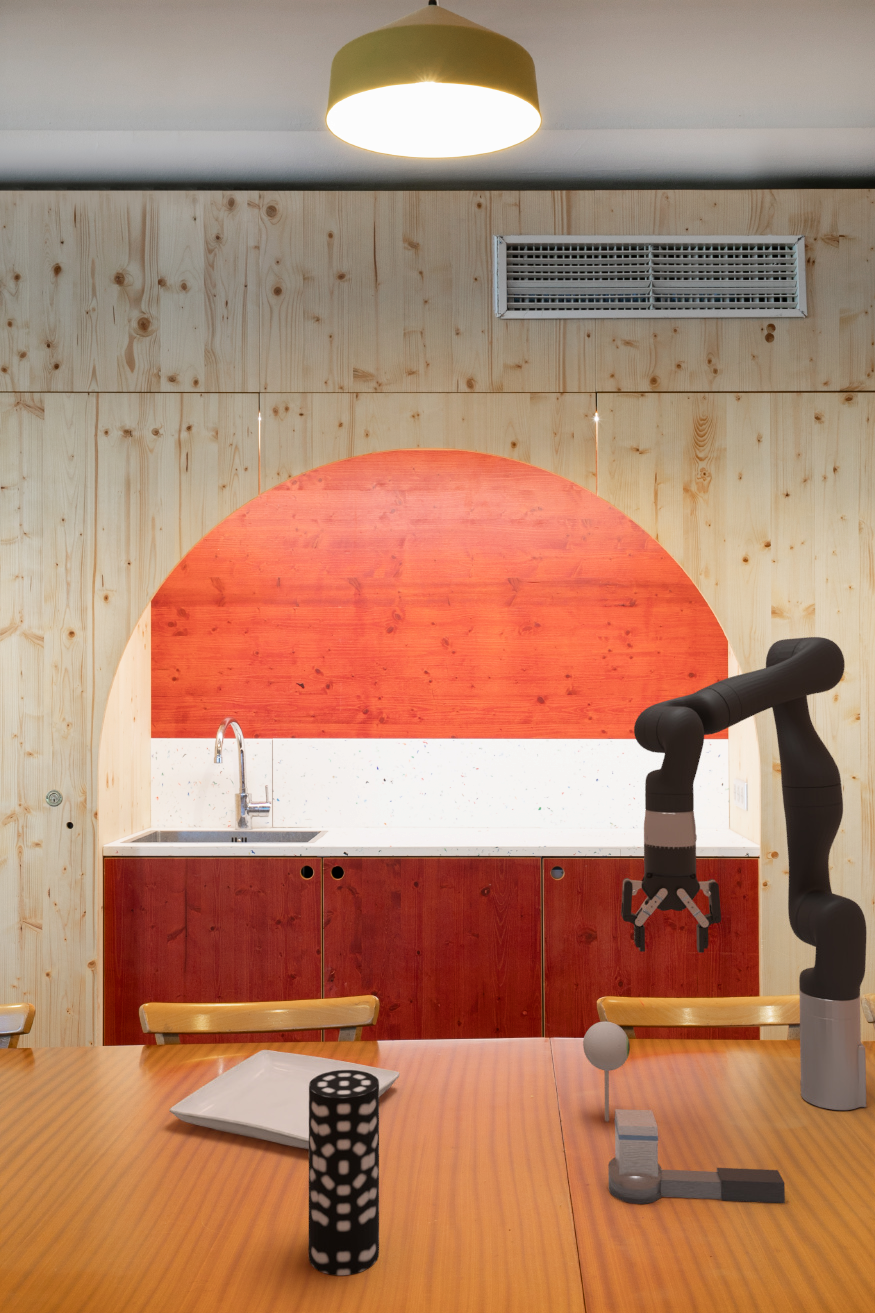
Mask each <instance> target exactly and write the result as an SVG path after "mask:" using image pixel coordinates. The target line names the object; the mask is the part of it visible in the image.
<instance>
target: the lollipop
mask: <svg viewBox="0 0 875 1313" xmlns="http://www.w3.org/2000/svg"><path fill="white" fill-rule="evenodd" d="M582 1047H583V1052H584V1055H585V1058H586V1059H587V1060H588V1062H589V1063H590V1064H591V1065H592V1066H593V1067H595V1068H596V1069H598V1070H600V1071H604V1121H605V1122H610V1099H609V1098H610V1089H609V1087H610V1083H609V1082H610V1080H609V1078H610V1077H609V1075H610V1074H609V1073H610V1072H611V1071H615V1070H617V1069H619V1068H621V1067H622V1066H623V1065H624V1064H625V1063H626V1062H627V1060H628V1058H629V1055H630V1048H631V1046H630V1040H629V1037H628V1035H627V1034H626V1032H625V1031H624V1030H623V1028H622V1027H621V1026H620V1025H618V1024H616V1023H613V1022H610V1021H599V1022H596V1023H594V1024H593V1025H591V1026H590V1027H589V1028H588V1030H587V1031H586V1033H585V1034H584V1037H583V1041H582Z"/></svg>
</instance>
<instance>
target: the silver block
mask: <svg viewBox="0 0 875 1313" xmlns="http://www.w3.org/2000/svg"><path fill="white" fill-rule="evenodd" d="M614 1134H615V1135H614V1144H615V1145H614V1147H615V1150H614V1152H615V1156H614V1158H616V1163H617V1167H618V1172H619V1176H638V1177H658V1164H659V1147H658V1146H659V1145H658V1143H659V1135H658V1124H657V1121H656V1118H655V1115H654V1112H653V1110H649V1109H648V1110H647V1109H646V1110H645V1109H618V1108H617V1109H614Z"/></svg>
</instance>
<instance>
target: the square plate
mask: <svg viewBox="0 0 875 1313" xmlns="http://www.w3.org/2000/svg"><path fill="white" fill-rule="evenodd" d="M337 1070H358V1071H363V1072H367V1073H370V1074H372V1075H374V1076H375V1077H377V1079H378V1080H379V1098H380V1097H381V1096H382V1095H383V1094H384V1093H386V1092H387V1091H388V1090H390V1087H391V1086H392V1085H393V1084H394V1083H395V1082H396V1080H398V1078H400V1074H401V1073H400V1072H399V1071H398V1070H397V1071H396V1070H393V1069H392V1070H391V1069H385V1068H381V1067H375V1066H372V1065H371V1066H370V1065H364V1064H360V1063H354V1062H348V1061H343V1060H338V1059H333V1058H326V1057H320V1056H314V1055H307V1054H306V1055H305V1054H300V1053H292V1052H283V1051H275V1050H269V1049H262V1050H259V1051H258V1052H256V1053H255V1054H252V1055H251V1056H249V1057H248V1058H246V1059H244V1060H243V1061H241V1062H240V1063H238V1064H236V1065H234V1066H233V1067H230V1068H229V1069H228V1070H227V1071H225V1072H222V1073H221V1074H220V1075H218V1076H217V1077H215V1078H214V1079H212V1080H211V1081H209V1082H208V1083H206V1084H204V1085H203V1086H201V1087H200V1088H198V1089H197V1090H195V1091H193V1092H192V1093H191V1094H189V1095H188V1096H186V1097H184V1098H183V1099H182V1100H180V1101H179V1102H177V1103H175V1105H173V1106H171V1107H170V1108H169V1112H170V1113H171V1114H172V1115H173V1116H175V1118H178V1119H179V1120H180V1121H182V1122H185V1123H188V1124H191V1125H196V1126H200V1127H204V1128H210V1129H212V1130H215V1131H219V1132H225V1133H230V1134H234V1135H240V1136H244V1137H248V1138H255V1139H258V1140H263V1141H264V1140H265V1141H268V1142H273V1143H275V1144H276V1143H277V1144H281V1145H284V1146H285V1145H286V1146H291V1147H294V1148H301V1149H306V1150H309V1083H310V1081H311V1080H312V1079H313V1078H315V1077H316V1076H318V1075H321V1074H323V1073H327V1072H331V1071H337Z"/></svg>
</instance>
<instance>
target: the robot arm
mask: <svg viewBox="0 0 875 1313" xmlns="http://www.w3.org/2000/svg"><path fill="white" fill-rule="evenodd" d="M845 668H846V667H845V658H844V654H843V651H842V650H841V648H840V647H839V645H838V644H837V643H836V642H834V641H833V640H831V639H829V638H825V637H820V636H809V637H797V638H795V637H794V638H785V639H784V638H783V639H780V640H778V641H777V640H776V641H775V642H774V643H772V645H771V646H770V647H769V649H768V652H767V654H766V659H765V668H761V669H758V670H757V669H756V670H753V671H749V672H745V673H741V674H738V675H733V676H730V677H727V678H724V679H722V680H719V681H716V682H714V683H712V684H710V685H708V686H705V687H703V688H701V689H699V690H697V691H696V692H693V693H690V694H688V695H684V696H679V697H675V698H672V699H668V700H664V701H662V702H658V703H656V704H652V705H650V706H648V707H646V708H645V709H644V710H643V711H642V712H641V713H640V714H639V715H638V716H637V718H636V719H635V722H634V726H633V735H634V738H635V740H636V742H637V743H638V745H639V746H640V747H641V748H643V749H644V750H646V751H649V752H652V753H655V754H656V753H658V754H664V755H663V756H664V757H663V759H662V764H661V767H660V768H659V769H654V770H651V771H650V772H648V773H647V775H646V777H645V783H644V784H645V787H644V788H645V790H644V791H645V792H644V798H645V799H644V801H645V805H644V807H645V808H644V809H645V812H644V813H645V814H644V820H643V821H644V822H643V857H644V858H643V863H644V864H643V867H644V869H643V870H644V871H643V873H644V874H643V877H642V879H641V880H633V879H630V878H628V877H626V878H623V880H622V890H621V891H622V892H621V909H620V915H621V917H622V920H623V921H624V922H626V923H627V922H628V923H631V924H632V925H633V934H634V935H633V942H634V945H635V947H636V948H638V950H639V952H645V951H646V929H645V928H646V926H645V925H644V923H646V921H647V919H648V918H649V917H650V916H651V915H652V914H653V913H654V912H655V910H656V909H658V910H660V911H661V912H662V911H663V912H666V911H671V910H673V911H676V912H682V911H683V910H686V909H688V910H689V912H690V913H691V914H692V916H693V918H695V919H696V921H697V923H698V924H696V950H697V953H700V954H701V953H702V954H704V952H705V949H706V950H707V949H708V948H709V927H710V926H711V925H714V924H720V923H721V922H722V910H721V897H720V886H719V883H718V882H716V880H715V879H713V878H711V879H708V880H707V881H698V877H697V836H698V835H697V831H696V830H697V829H696V828H697V827H696V819H695V811H694V809H695V808H694V807H695V805H694V804H695V803H694V801H695V800H694V798H695V796H694V781H695V778H696V775H697V772H698V767H699V764H700V760H701V755H702V751H703V747H704V743H705V742H704V741H705V736H708V735H714V734H717V733H720V732H722V731H724V730H726V729H728V728H730V727H733V726H734V725H737V724H738V723H741V722H742V721H744V720H747V719H748V718H750V717H753V716H754V715H757V714H760V713H761V712H762V713H763V712H764V711H766V710H769V709H771V708H772V712H773V718H774V724H775V729H776V737H777V745H778V756H779V761H780V762H779V763H780V777H781V778H780V779H781V792H782V803H783V809H784V810H783V811H784V817H785V818H784V819H785V830H786V842H787V843H786V844H787V846H786V847H787V856H788V857H787V858H788V889H787V890H788V892H787V893H788V896H787V897H788V898H787V899H788V900H787V901H788V903H787V904H788V906H787V907H788V909H787V910H788V921H789V925H790V927H791V930H792V932H793V934H794V935H795V936H796V938H798V939H799V940H800V941H802V942H803V943H805V944H808V945H810V946H812V947H815V957H814V958H815V959H814V965H813V967H807V968H805V969H803V970H802V971H801V972H800V973H799V977H798V978H799V980H798V981H799V982H798V984H799V985H798V986H799V989H798V990H799V1040H800V1041H799V1043H800V1044H799V1047H800V1050H799V1051H800V1053H799V1055H800V1058H799V1059H800V1081H799V1082H800V1095H801V1098H803V1100H804V1101H806V1102H807V1103H809V1104H811V1105H814V1106H816V1107H819V1108H823V1109H827V1110H828V1109H829V1110H834V1111H849V1110H855V1109H858V1108H866V1107H867V1077H866V1076H867V1075H866V1074H867V1070H866V1065H867V1063H866V1056H867V1055H866V1046H865V1045H864V1044H863V1042H862V1037H861V1036H862V1033H861V1030H862V1029H861V1026H862V1024H861V1023H862V1022H861V986H862V984H863V981H864V978H865V974H866V962H867V961H866V959H867V958H866V957H867V923H866V919H865V914H864V912H863V910H862V908H861V906H860V905H859V904H858V903H857V902H856V901H854V900H852V899H850V898H849V897H846V896H843V895H839V894H837V893H836V894H835V893H833V891H832V887H831V880H830V869H829V859H830V853H831V848H832V846H833V843H834V841H835V839H836V836H837V834H838V831H839V828H840V825H841V823H842V820H843V813H844V801H843V800H844V798H843V789H842V780H841V778H842V777H841V774H840V769H839V766H838V765H837V763H836V760H835V759H834V758H833V756H832V754H831V753H830V751H829V749H828V748H827V746H826V745H825V743H824V742H823V741H822V739H821V736H820V735H819V734H818V732H817V731H816V728H815V726H814V725H813V722H812V719H811V714H810V709H809V704H808V696H811V695H815V694H821V693H825V692H828V691H830V690H832V689H834V688H836V686H837V685H839V683H840V681H841V680H842V678H843V676H844V674H845V673H844V672H845ZM640 889H642V891H643V892H644V894H645V895H646V898H645V899H644V901H643V903H642V904H641V905H640V907H639V909H638V910H637V911H636V913H634V912H632V907H633V906H632V901H633V896H636V895H637V893H638V891H639V890H640ZM700 890H702V892H703V894H704V895H705V896H706V897H708V909H709V913H707V914H703V913H702V912H701V910H700V909H699V907H698V906H697V904H696V903H695V901H694V898H695V897H696V896H697V894H698V893H699V891H700Z"/></svg>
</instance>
